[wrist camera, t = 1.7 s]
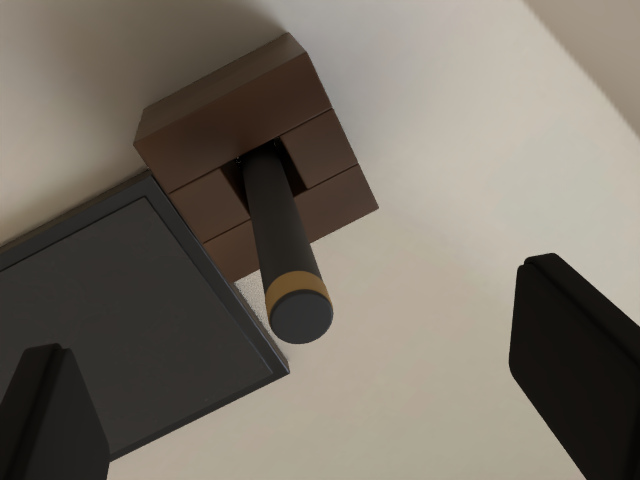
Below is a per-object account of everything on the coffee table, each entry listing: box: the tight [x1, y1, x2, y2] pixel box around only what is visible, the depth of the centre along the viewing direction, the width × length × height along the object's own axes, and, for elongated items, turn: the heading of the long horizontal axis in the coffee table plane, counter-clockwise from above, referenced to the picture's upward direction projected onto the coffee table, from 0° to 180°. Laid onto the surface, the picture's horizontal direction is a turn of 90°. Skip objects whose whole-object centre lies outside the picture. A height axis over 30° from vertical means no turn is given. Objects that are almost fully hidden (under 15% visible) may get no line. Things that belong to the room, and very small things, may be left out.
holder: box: [133, 32, 379, 284], centre depth 21 cm, size 6×6×4 cm
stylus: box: [240, 139, 333, 344], centre depth 17 cm, size 1×1×12 cm
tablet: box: [0, 169, 290, 462], centre depth 25 cm, size 12×16×1 cm
